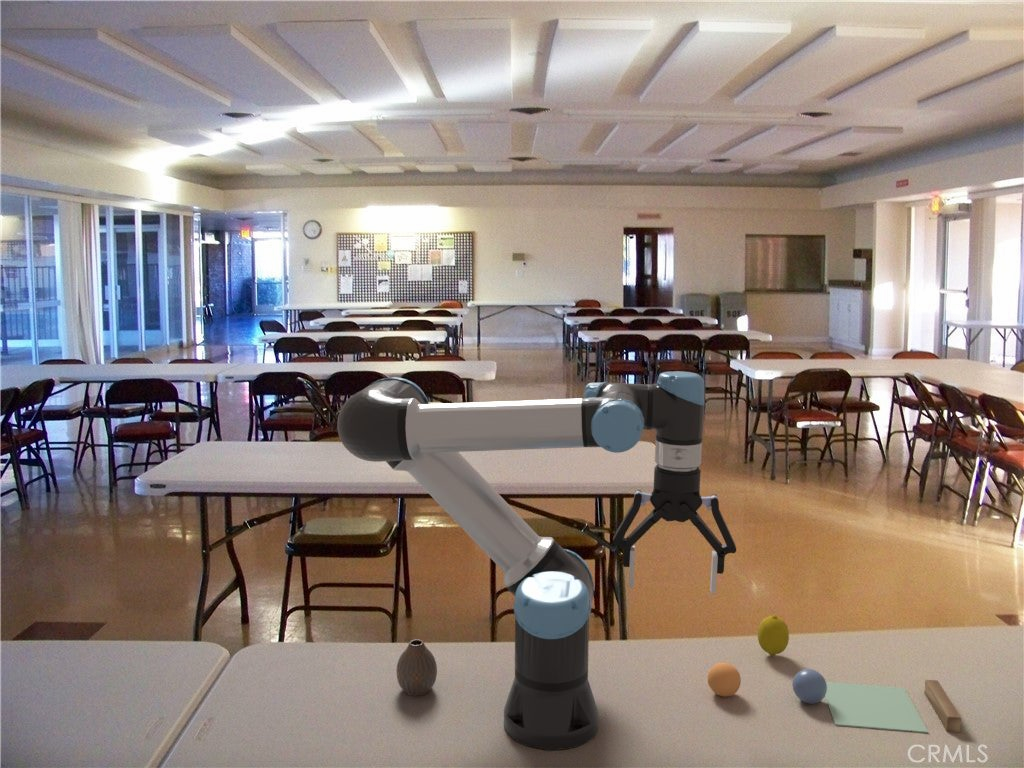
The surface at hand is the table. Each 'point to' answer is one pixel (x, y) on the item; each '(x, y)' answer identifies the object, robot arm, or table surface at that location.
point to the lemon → (773, 635)
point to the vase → (416, 669)
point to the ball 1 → (724, 679)
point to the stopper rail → (942, 706)
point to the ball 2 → (809, 686)
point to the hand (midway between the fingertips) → (671, 588)
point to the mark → (873, 707)
